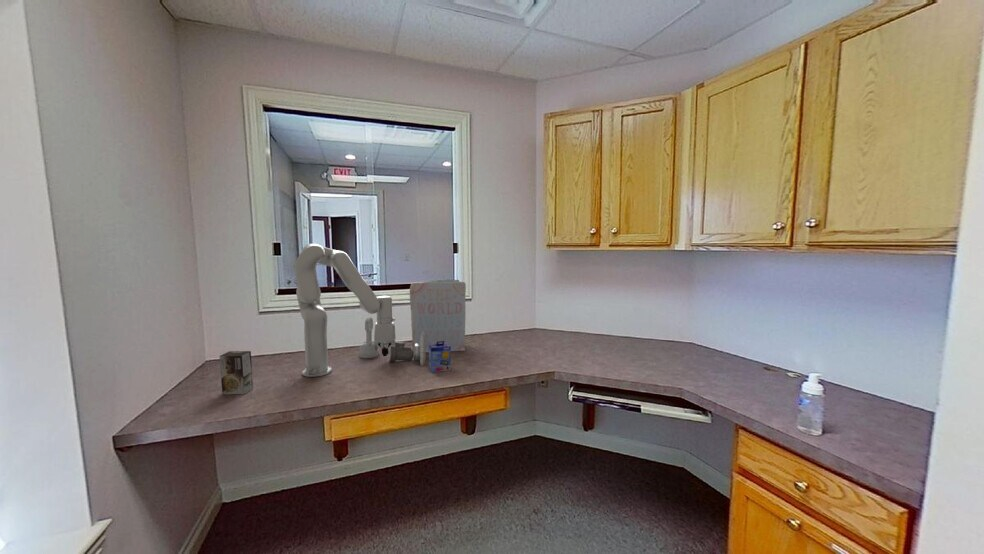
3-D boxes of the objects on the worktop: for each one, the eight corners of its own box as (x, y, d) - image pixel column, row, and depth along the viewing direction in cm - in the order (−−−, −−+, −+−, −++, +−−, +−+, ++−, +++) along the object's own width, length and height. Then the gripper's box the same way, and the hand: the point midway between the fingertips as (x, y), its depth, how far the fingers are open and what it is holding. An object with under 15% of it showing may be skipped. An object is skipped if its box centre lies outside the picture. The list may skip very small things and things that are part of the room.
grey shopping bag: (410, 347, 229) (409, 279, 226) (463, 344, 235) (462, 278, 233) (410, 354, 212) (408, 281, 210) (466, 350, 218) (465, 280, 216)
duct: (423, 364, 193) (423, 337, 192) (413, 365, 193) (412, 337, 191) (425, 356, 207) (425, 330, 206) (416, 356, 206) (415, 331, 205)
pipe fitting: (388, 363, 193) (390, 343, 193) (388, 360, 201) (390, 340, 201) (412, 364, 196) (414, 344, 196) (412, 361, 204) (414, 341, 204)
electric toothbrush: (356, 357, 204) (375, 358, 204) (355, 319, 202) (374, 319, 202) (363, 351, 215) (381, 352, 214) (362, 315, 213) (380, 315, 212)
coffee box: (253, 388, 161) (251, 350, 159) (244, 394, 155) (242, 355, 153) (231, 388, 161) (229, 350, 159) (221, 394, 154) (218, 355, 153)
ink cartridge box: (430, 372, 182) (430, 342, 180) (428, 369, 187) (428, 339, 185) (451, 370, 185) (451, 341, 184) (448, 367, 190) (448, 338, 189)
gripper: (400, 318, 201) (400, 353, 202) (371, 319, 199) (371, 353, 201) (398, 321, 193) (398, 357, 195) (367, 322, 192) (368, 358, 193)
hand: (385, 355), depth 198 cm, fingers closed
